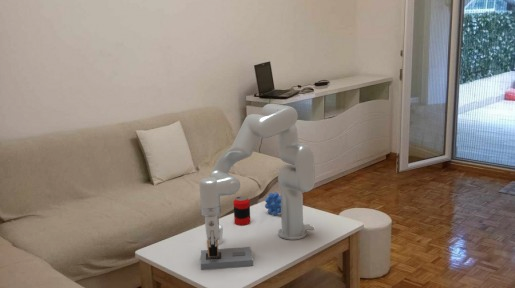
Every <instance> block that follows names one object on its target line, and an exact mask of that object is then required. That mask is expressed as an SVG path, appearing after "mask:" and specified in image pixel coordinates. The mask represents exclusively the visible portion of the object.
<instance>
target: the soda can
mask: <svg viewBox="0 0 515 288" xmlns="http://www.w3.org/2000/svg"><path fill="white" fill-rule="evenodd" d="M250 205H251V203H250V199H248V197H247V196H237V197H236V198H234V200H233V218H234V219H233V220H234V224H235V225H237V226H247V225H249V224H250V223H251V208H250V207H251V206H250Z"/></svg>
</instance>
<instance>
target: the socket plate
mask: <svg viewBox="0 0 515 288" xmlns="http://www.w3.org/2000/svg"><path fill="white" fill-rule="evenodd" d="M253 266H254V260H253V255H252V250H251V247H250V246H241V247H229V248H218V256H212V257H208V249H204V250H200V271H203V270H204V271H206V270H217V269H219V270H220V269H228V268H229V269H230V268H231V269H232V268H241V267H253Z"/></svg>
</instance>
